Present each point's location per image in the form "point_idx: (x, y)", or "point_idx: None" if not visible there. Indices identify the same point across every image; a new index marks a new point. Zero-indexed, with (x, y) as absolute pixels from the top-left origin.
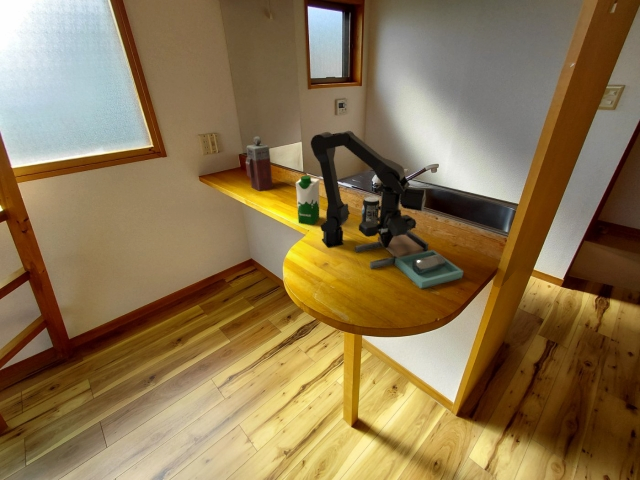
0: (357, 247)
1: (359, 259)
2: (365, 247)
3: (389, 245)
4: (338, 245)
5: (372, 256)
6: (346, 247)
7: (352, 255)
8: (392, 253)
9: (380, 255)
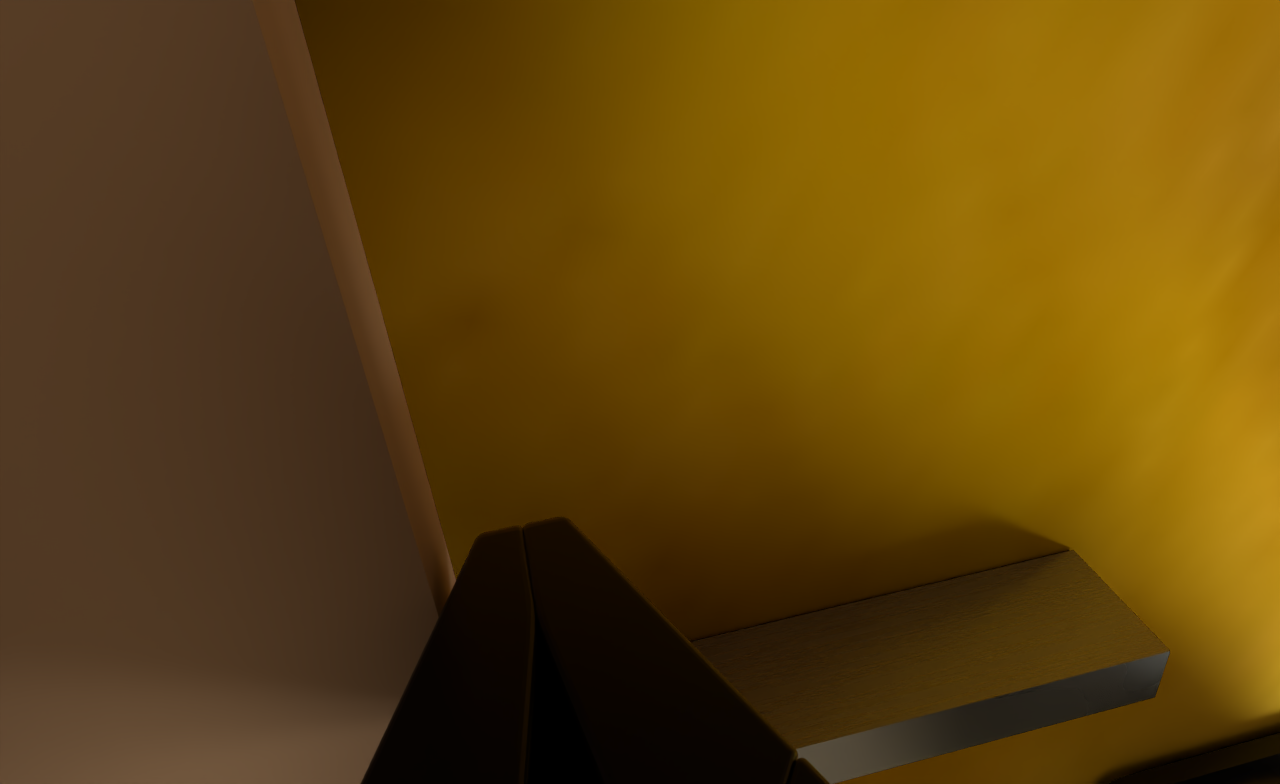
0: (1136, 651)
1: (1183, 298)
2: (910, 667)
3: (375, 617)
4: (1197, 757)
5: (838, 375)
6: (1104, 711)
7: (1196, 468)
8: (345, 192)
9: (618, 390)
